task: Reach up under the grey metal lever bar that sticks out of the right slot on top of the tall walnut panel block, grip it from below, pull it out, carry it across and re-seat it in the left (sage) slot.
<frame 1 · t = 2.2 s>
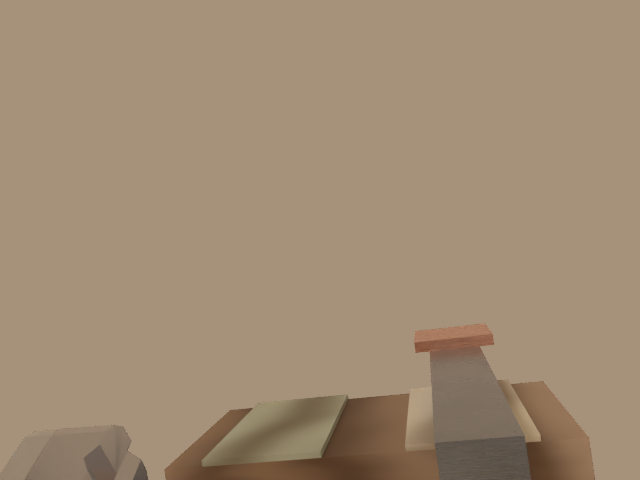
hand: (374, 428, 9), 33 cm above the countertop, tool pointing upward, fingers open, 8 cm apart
paddle lever: (467, 425, 28), point 26 cm above the countertop, touching panel block
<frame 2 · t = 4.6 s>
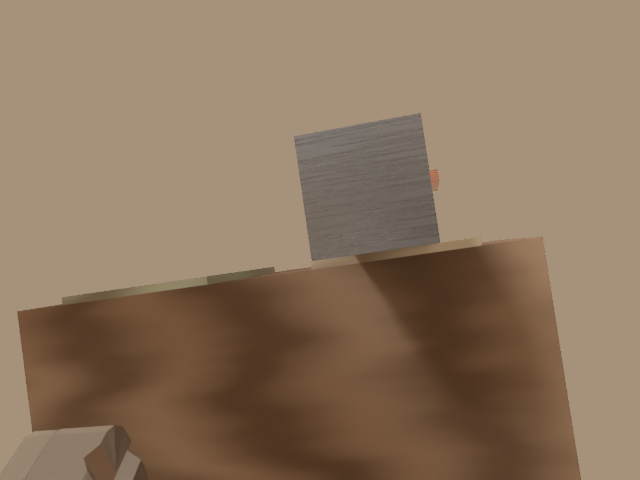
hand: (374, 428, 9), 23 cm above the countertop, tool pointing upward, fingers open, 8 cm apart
paddle lever: (396, 249, 22), point 26 cm above the countertop, touching panel block
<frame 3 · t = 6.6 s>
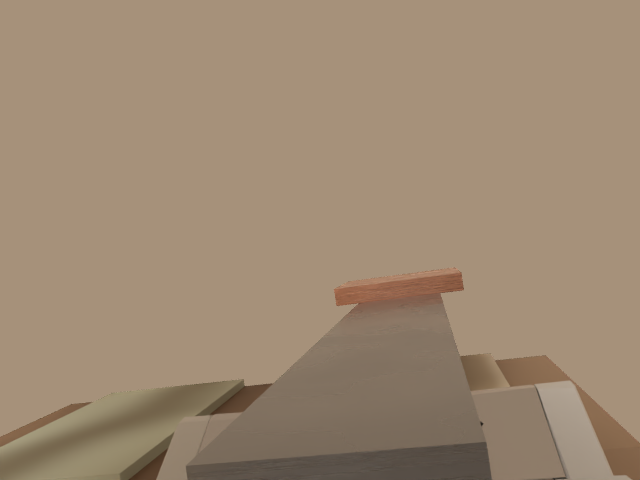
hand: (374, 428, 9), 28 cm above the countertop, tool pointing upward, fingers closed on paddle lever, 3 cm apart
paddle lever: (406, 423, 15), point 26 cm above the countertop, touching gripper, panel block
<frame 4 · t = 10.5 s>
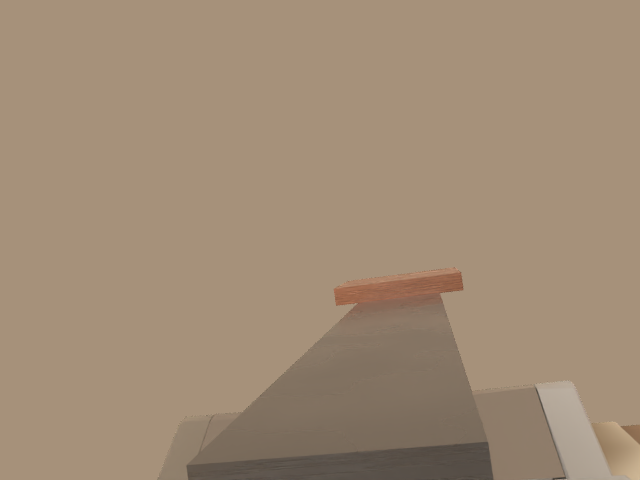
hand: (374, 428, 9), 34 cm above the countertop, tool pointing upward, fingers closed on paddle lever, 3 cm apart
paddle lever: (405, 423, 15), point 33 cm above the countertop, touching gripper
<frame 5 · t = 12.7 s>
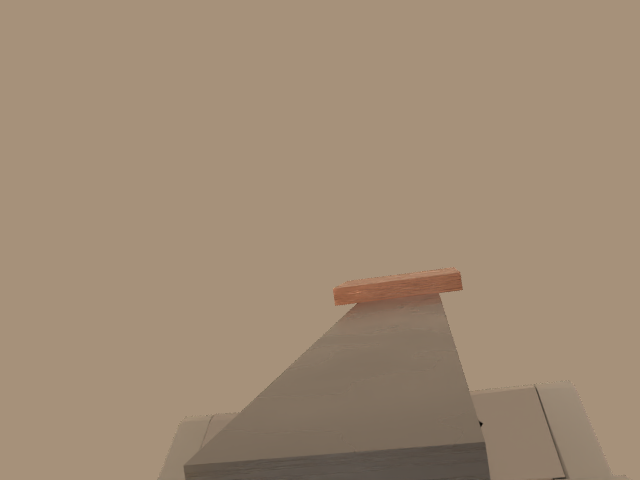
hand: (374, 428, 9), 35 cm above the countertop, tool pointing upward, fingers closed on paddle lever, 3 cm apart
paddle lever: (404, 423, 15), point 33 cm above the countertop, touching gripper
when the fingers open (29 cm above the countertop, at t = 14.4 s): paddle lever drops 1 cm, resting on panel block.
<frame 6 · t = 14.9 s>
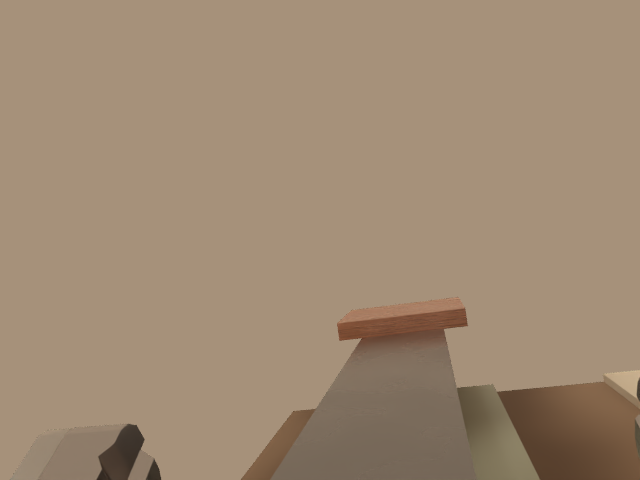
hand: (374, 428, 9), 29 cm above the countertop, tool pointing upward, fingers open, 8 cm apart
paddle lever: (410, 471, 15), point 26 cm above the countertop, touching panel block
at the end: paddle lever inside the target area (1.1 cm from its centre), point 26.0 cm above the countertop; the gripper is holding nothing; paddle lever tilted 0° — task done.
